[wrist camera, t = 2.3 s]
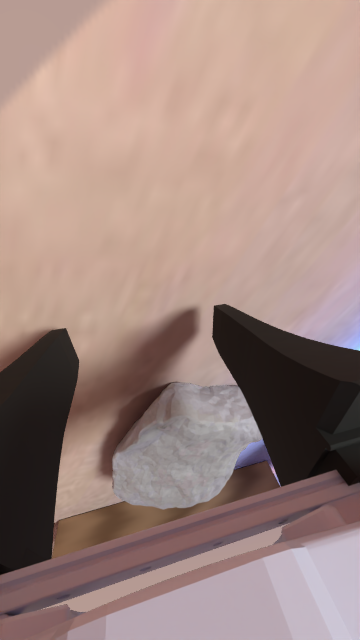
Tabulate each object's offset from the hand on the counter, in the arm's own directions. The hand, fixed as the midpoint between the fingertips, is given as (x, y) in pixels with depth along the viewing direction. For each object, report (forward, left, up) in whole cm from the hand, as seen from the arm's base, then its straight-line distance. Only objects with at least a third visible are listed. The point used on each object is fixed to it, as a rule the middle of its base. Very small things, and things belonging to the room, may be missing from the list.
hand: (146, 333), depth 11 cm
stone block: (-1, +12, -2) cm, 12 cm away
